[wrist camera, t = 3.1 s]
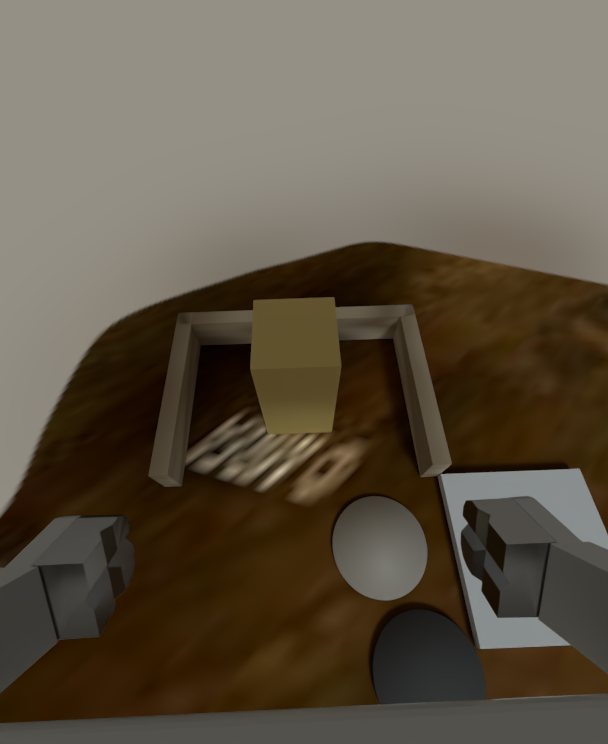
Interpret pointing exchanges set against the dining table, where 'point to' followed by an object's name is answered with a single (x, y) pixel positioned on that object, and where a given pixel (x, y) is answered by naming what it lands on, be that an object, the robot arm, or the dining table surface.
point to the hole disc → (425, 661)
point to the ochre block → (296, 363)
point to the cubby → (238, 330)
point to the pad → (560, 497)
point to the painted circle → (379, 548)
